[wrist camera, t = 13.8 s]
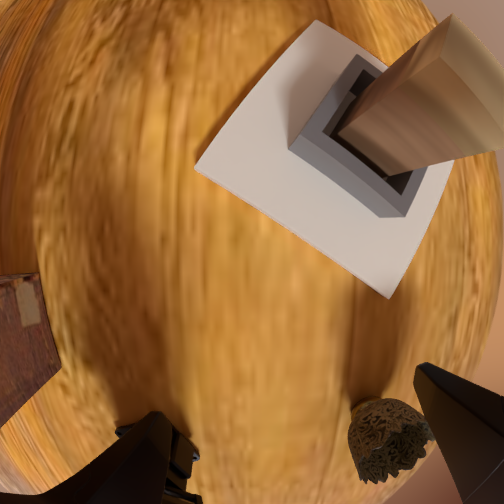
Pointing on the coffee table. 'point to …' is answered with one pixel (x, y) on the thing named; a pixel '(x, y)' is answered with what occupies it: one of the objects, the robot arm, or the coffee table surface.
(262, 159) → the plate
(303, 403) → the coffee table surface
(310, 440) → the coffee table surface
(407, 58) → the walnut post
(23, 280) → the book
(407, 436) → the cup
